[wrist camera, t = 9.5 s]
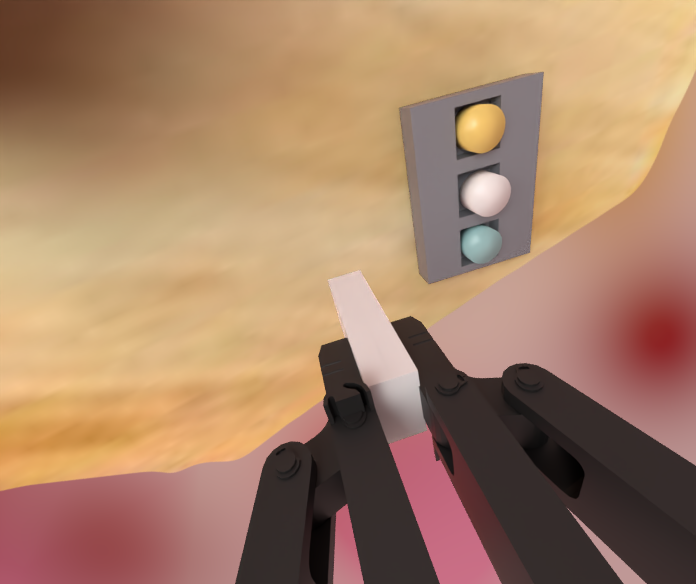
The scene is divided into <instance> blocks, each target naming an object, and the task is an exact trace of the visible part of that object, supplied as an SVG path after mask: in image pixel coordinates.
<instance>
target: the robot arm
mask: <svg viewBox="0 0 696 584" xmlns="http://www.w3.org/2000/svg"><path fill="white" fill-rule="evenodd" d="M328 283H329V286H330V290H331V293H332V297H333V300H334V303H335V307H336V310H337V314H338V317H339V320H340V324H341V327H342V330H343V333H344V336H345V338H344V339H340V340H337V341H334V342H331V343H328V344H325V345H322V346H321V349H320V352H319V356H318V357H319V362H320V366H321V371H322V375H323V380H324V385H325V390H326V395H325V397H324V404H323V406H324V409H325V411H326V414H327V417H328V419H329V420H328V422H327V424H326V426H325V427H324V428H323V430H322V431H321V432H320V433H319V434H318V435H316V436H315V437H314V438H313V439H311V440H310V441H308V442H307V443H305V444H302V443H300V442H288V443H285V444H282V445H280V446H279V447H277V448H276V449H274V450H273V451H272V453H271V454H270V455H269V456H268V457H267V459H266V461H265V464H264V466H263V469H262V473H261V477H260V482H259V486H258V490H257V494H256V498H255V503H254V507H253V511H252V515H251V520H250V524H249V528H248V532H247V536H246V541H245V545H244V550H243V553H242V558H241V562H240V566H239V570H238V574H237V578H236V583H235V584H333V571H334V547H335V523H336V512H337V511H338V510H340V509H341V508H342V507H343V506H345V505H346V504H348V509H349V514H350V518H351V523H352V528H353V533H354V538H355V542H356V547H357V551H358V557H359V561H360V566H361V571H362V575H363V580H364V584H440V583H439V580H438V578H437V575H436V572H435V570H434V567H433V564H432V561H431V559H430V556H429V553H428V551H427V548H426V545H425V542H424V540H423V537H422V534H421V532H420V529H419V526H418V524H417V521H416V518H415V515H414V513H413V510H412V507H411V504H410V502H409V499H408V496H407V493H406V491H405V488H404V485H403V483H402V480H401V477H400V474H399V472H398V469H397V467H396V463H395V461H394V458H393V455H392V453H391V450H390V447H389V444H390V443H393V442H395V441H398V440H401V439H404V438H407V437H410V436H413V435H416V434H419V433H421V432H424V431H427V428H426V424H427V425H428V428H429V429H430V431H431V433H432V439H433V445H434V453H435V458H436V461H438V460H440V459H441V461H442V463H443V465H444V467H445V469H446V471H447V473H448V475H449V477H450V479H451V482H452V484H453V486H454V488H455V489H456V492H457V494H458V496H459V498H460V500H461V502H462V504H463V506H464V508H465V510H466V512H467V514H468V516H469V518H470V520H471V522H472V524H473V526H474V528H475V530H476V532H477V534H478V536H479V538H480V540H481V542H482V544H483V547H484V549H485V550H486V553H487V555H488V557H489V559H490V561H491V563H492V565H493V567H494V569H495V571H496V573H497V575H498V577H499V579H500V581H501V583H502V584H623V582H622V581H621V580H620V578H619V577H618V576H617V574H616V573H615V572H614V570H613V569H612V568H611V566H610V565H609V564H608V562H607V561H606V560H605V558H604V557H603V556H602V554H601V553H600V552H599V550H598V549H597V548H596V546H595V545H594V544H593V542H592V541H591V539H590V538H589V537H588V535H587V534H586V533H585V531H584V530H583V529H582V527H581V526H580V525H579V523H578V522H577V521H576V519H575V518H574V517H573V515H572V514H571V513H570V511H571V512H572V513H573V514H575V515H576V516H577V517H578V518H579V519H580V520H581V521H582V522H583V523H584V524H585V525H586V526H587V527H588V528H589V529H590V530H591V531H592V532H593V533H594V534H595V535H596V536H598V537H599V538H600V539H601V540H602V541H603V542H604V543H605V544H606V545H607V546H608V547H609V548H610V549H611V550H612V551H613V552H614V553H615V554H616V555H617V556H619V557H620V558H621V559H622V560H623V561H624V562H625V563H626V564H627V565H628V566H629V567H630V568H631V569H632V570H633V571H634V572H635V573H636V574H637V575H639V577H640V578H641V579H643V580H644V581H645V582H646V583H647V584H696V466H695V465H694V464H692V463H691V462H689V461H687V460H686V459H684V458H683V457H681V456H680V455H678V454H676V453H675V452H673V451H672V450H670V449H669V448H667V447H666V446H664V445H662V444H661V443H659V442H658V441H656V440H654V439H653V438H651V437H650V436H648V435H647V434H645V433H644V432H642V431H641V430H639V429H638V428H636V427H634V426H633V425H631V424H629V423H628V422H627V421H625V420H623V419H622V418H620V417H619V416H617V415H616V414H614V413H613V412H611V411H610V410H608V409H606V408H605V407H603V406H602V405H600V404H599V403H597V402H595V401H594V400H592V399H591V398H589V397H588V396H586V395H585V394H583V393H581V392H580V391H578V390H577V389H575V388H574V387H572V386H571V385H569V384H567V383H566V382H564V381H563V380H561V379H559V378H558V377H557V376H555V375H553V374H552V373H550V372H549V371H547V370H545V369H543V368H541V367H539V366H537V365H533V364H527V363H524V364H515V365H512V366H510V367H508V368H507V369H506V370H505V371H504V372H503V376H502V377H501V378H473V377H469V376H467V375H466V374H465V373H464V372H462V371H459V370H457V369H455V368H454V367H453V366H452V364H451V363H450V362H449V360H448V359H447V357H446V356H445V354H444V353H443V352H442V350H441V349H440V348H439V346H438V345H437V343H436V342H435V341H434V340H433V338H432V336H431V335H430V334H429V333H428V331H427V329H426V328H425V327H424V325H423V324H422V322H420V321H418V320H417V319H415V318H413V317H411V316H410V317H407V318H403V319H400V320H397V321H394V322H391V323H390V321H389V320H388V318H387V316H386V314H385V313H384V311H383V309H382V307H381V306H380V304H379V302H378V300H377V299H376V297H375V295H374V294H373V292H372V290H371V288H370V287H369V285H368V283H367V281H366V280H365V278H364V276H363V274H362V273H361V271H360V270H358V271H354V272H351V273H348V274H345V275H341V276H338V277H335V278H331V279H328ZM439 457H440V458H439ZM567 508H568V509H569V510H570V511H569V510H568V509H567Z"/></svg>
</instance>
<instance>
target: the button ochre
mask: <svg viewBox="0 0 696 584" xmlns="http://www.w3.org/2000/svg"><path fill="white" fill-rule="evenodd" d="M504 130H505V116H504V113H503V112H502V110H501V109H500V108H499V107H498V106H496V105H493V104H471V105H467V106H465V107H464V108H462V109H461V110H460V111H459V112H458V113H457V115H456V116H455V133H456V146H457V147H458V148H459V149H462V150H466V151H470V152H475V153H486V152H488V151H490V150H492V149H493V148H494V147H495V146H496V145H497V144H498V143H499V142H500V140H501V138H502V136H503V134H504Z"/></svg>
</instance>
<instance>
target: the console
mask: <svg viewBox="0 0 696 584" xmlns="http://www.w3.org/2000/svg"><path fill="white" fill-rule="evenodd" d="M543 73H544V72H539V73H530V74H523V75H519V76H515V77H512V78H508V79H504V80H500V81H497V82H493V83H489V84H486V85H482V86H478V87H474V88H471V89H467V90H463V91H460V92H456V93H452V94H448V95H445V96H441V97H437V98H434V99H430V100H426V101H422V102H419V103H415V104H411V105H408V106H404V107H400V108H399V110H400V119H401V127H402V135H403V143H404V151H405V160H406V168H407V176H408V184H409V192H410V201H411V209H412V217H413V225H414V234H415V242H416V250H417V258H418V266H419V274H420V275H421V276H422V277H423V278H424V279H425V280H426V282H427V283H428V284H431V283H434V282H437V281H440V280H443V279H447V278H450V277H453V276H456V275H459V274H463V273H466V272H469V271H472V270H475V269H479V268H482V267H485V266H488V265H491V264H495V263H498V262H501V261H504V260H507V259H511V258H514V257H517V256H520V255H523V254H527V253H530V244H531V231H532V218H533V205H534V191H535V178H536V165H537V152H538V139H539V126H540V113H541V100H542V87H543ZM471 104H493V105H496V106H498V107H499V108H500V109H501V110H502V112H503V113H504V116H505V130H504V134H503V136H502V138H501V140H500V142H499V143H498V144H497V145H496V146H495V147H494V148H493V149H492V150H490V151H488V152H486V153H475V152H470V151H466V150H462V149H459V148H458V147H457V146H456V133H455V116H456V115H457V113H458V112H459V111H460V110H461V109H462V108H464V107H465V106H467V105H471ZM479 170H485V171H488V172H492V173H495V174H498V175H502V176H504V177H505V178H507V179H508V181H509V183H510V186H511V194H510V198H509V201H508V203H507V204H506V206H505V207H504V208H503V209H502V210H501V211H500V212H499V213H497V214H496V215H493V216H490V217H483V216H480V215H478V214H476V213H475V212H473V211H471V210H469V209H467V208H465V207H464V206H463V205H462V203H461V201H460V189H461V186H462V184H463V182H464V180H465V179H466V178H467V177H468V176H469V175H470V174H472V173H474V172H476V171H479ZM482 223H483V224H485V225H487V226H489V227H490V228H492V229H494V230H496V231H498V232H499V233H500V235H501V237H502V246H501V249H500V251H499V253H498V254H497V255H496V257H495V258H493V259H492V260H491V261H489V262H487V263H484V264H477V263H474V262H473V261H471V260H470V259H469V258H467V257H466V256H465V255H463V254H462V253H461V245H460V232H461V230H463V229H466V228H469V227H472V226H476V225H479V224H482Z"/></svg>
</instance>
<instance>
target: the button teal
mask: <svg viewBox="0 0 696 584" xmlns="http://www.w3.org/2000/svg"><path fill="white" fill-rule="evenodd" d="M460 245H461V253H462V254H463V255H465V256H466V257H467V258H469V259H470V260H471V261H473V262H474V263H477V264H484V263H487V262H489V261H491V260H492V259H493V258H495V257H496V255H497V254H498V253H499V251H500V249H501V246H502V237H501V235H500V233H499V232H498V231H496V230H494V229H492V228H490V227H489V226H487V225H485V224H483V223H482V224H479V225H476V226H472V227H469V228H466V229H463V230H461V232H460Z"/></svg>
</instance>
